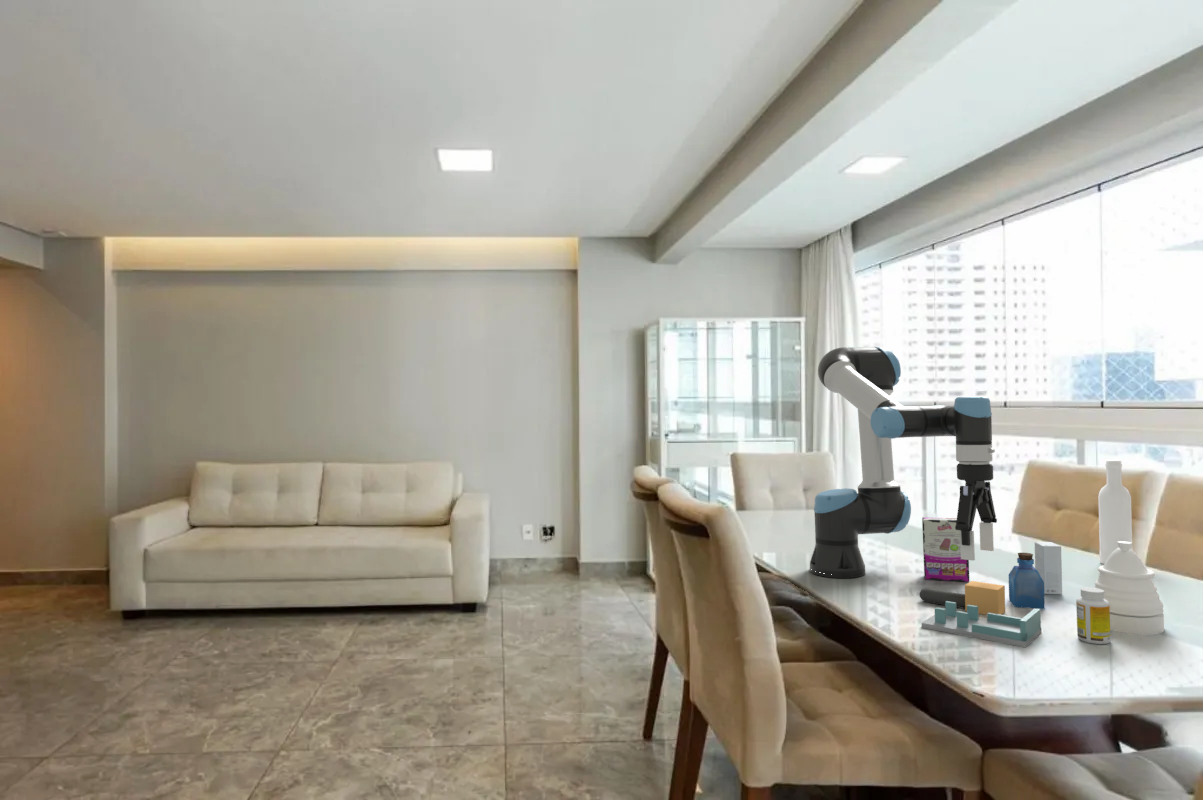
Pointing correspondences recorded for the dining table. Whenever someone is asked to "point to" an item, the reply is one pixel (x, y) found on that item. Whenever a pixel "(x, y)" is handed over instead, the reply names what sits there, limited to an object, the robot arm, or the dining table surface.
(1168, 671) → the dining table surface
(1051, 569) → the skincare box
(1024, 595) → the perfume bottle
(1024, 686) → the dining table surface
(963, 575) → the candy bar box
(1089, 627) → the supplement bottle
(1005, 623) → the teal block plate
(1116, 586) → the honey pot
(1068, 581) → the dining table surface
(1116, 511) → the bottle
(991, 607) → the orange cube-head hammer
